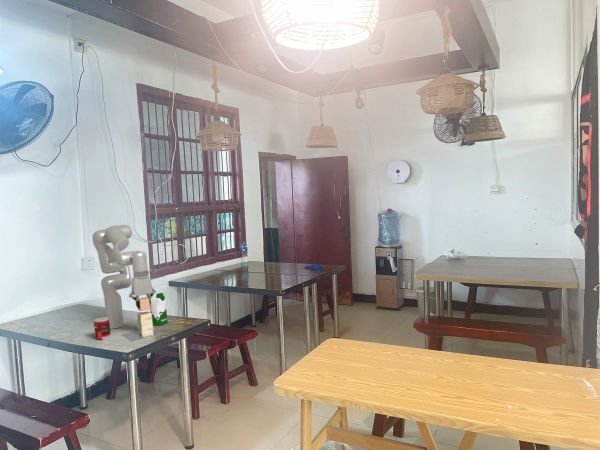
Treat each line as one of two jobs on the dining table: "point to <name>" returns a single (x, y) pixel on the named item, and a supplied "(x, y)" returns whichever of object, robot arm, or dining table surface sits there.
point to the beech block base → (145, 330)
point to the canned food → (102, 328)
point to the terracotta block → (144, 304)
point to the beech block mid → (144, 318)
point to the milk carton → (158, 310)
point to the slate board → (137, 335)
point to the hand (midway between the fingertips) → (143, 306)
